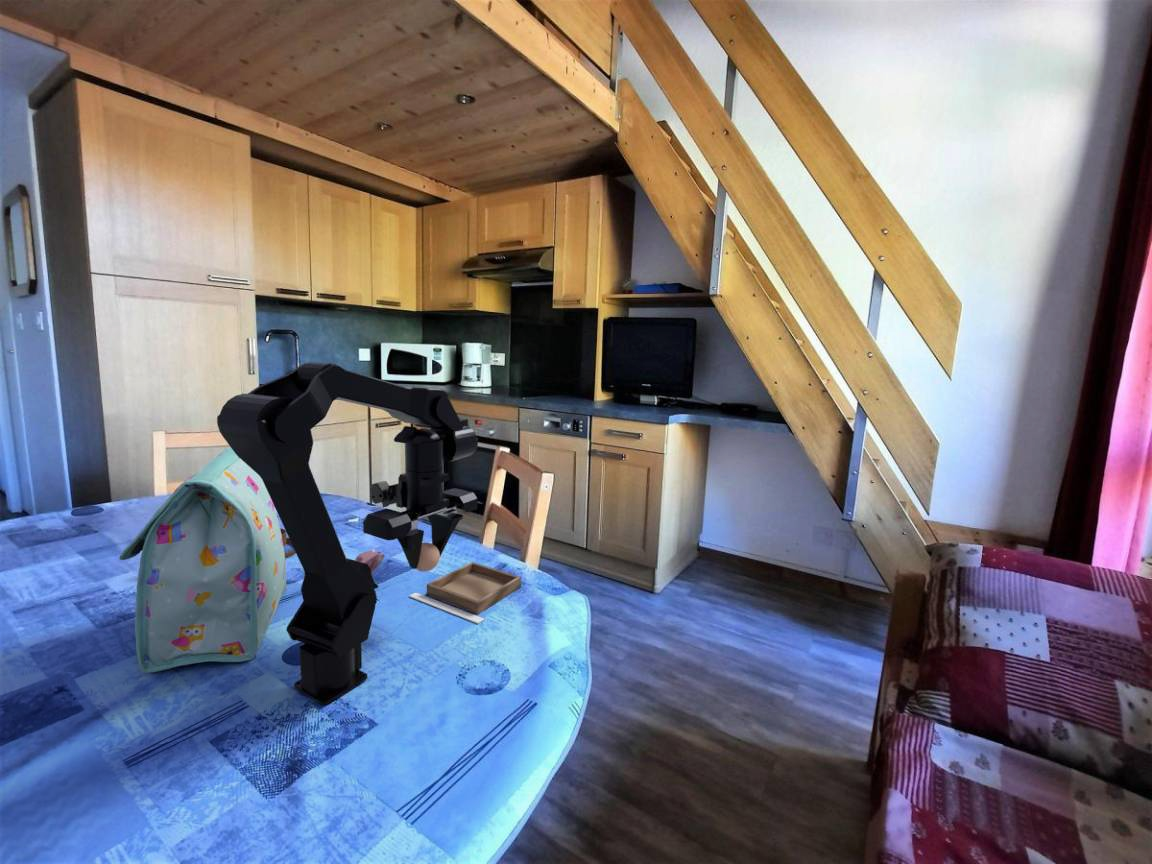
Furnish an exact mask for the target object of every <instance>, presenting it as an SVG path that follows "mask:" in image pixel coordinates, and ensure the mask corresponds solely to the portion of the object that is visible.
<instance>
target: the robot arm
mask: <svg viewBox="0 0 1152 864" xmlns="http://www.w3.org/2000/svg"><path fill="white" fill-rule="evenodd" d="M336 400H338V401H343V402H347V403H352V404H355V405H360V406H365V407H369V408H374V409H378V410H382V411H384V412H385V413H386V412H387V413H388V414H389V415H390V417H392V418H394V419H396V420H398V421H401V422H402V423H405V424H410V425H407V426H406V425H404V426H403V428H402V429H401V431H399V432H398V433H397V434H396V435H395V437H394V438H393V442H395V443H400V444H404V465H405V466H404V467H405V468H404V469H405V470H404V473H399V476H398V483H396V484H395V483H394V484H391V485H390V484H389V483H388V482H387V480H383V481H380V482H374V483H371V485H370V486H371V487H370V496H371V500H372V502H373V503H374V504H375V505H376V504H380V503H381V504H382V508H383V509H379V510H377V511H373V512H371V513H367V515H366V516H365V517H364V519H363V521H362V522H363V523H362V526H363V533H364V534H367V535H370V536H373V537H376V538H378V539H380V540H381V539H382V540H384V541H393V540H397V542H398V543H399V544H400V546H401V549H402V551H403V553H404V556H405V558H406V560H407V563H408V565H409V568H411V569H413V570H417V569H416V568H417V566H418V562H419V558H420V552H421V546H422V543H423V541H424V536H425V535H424V534H425V531H424V530H423V529H419V528H418V527H419V526H418V525H419V524H418V523H419V522H418V521H419V520H422V519H425V518H427V519H428V520H429V523H430V526H431V527H430V528H431V544H433V545H435V546H436V547H437V548H438V550H439V553H440V557H441V556H442V554H443V552H444V550H445V549H446V546H447V544H448V542H449V540H450V538H451V536H452V534H453V532H454V531H455V529H456V527H457V526H458V524H459V523H460V521H461V520H463V518H464V515H463V514H460V513H458V509H457V507H459V506H460V509H461V511H463V512H464V513H466V514H467V513H470V512H473V511H475V510H478V498H477V496H476V494H475V493H474V492H473V491H469V490H466V489H465V490H464V489H460V488H457V487H456V488H455V487H453V488H450V489H446V490H444V489H445V487H444V483H445V482H448V481H450V474H449V473H445V471H444V470H445V469H444V463H450V462H453V461H458V460H460V459H464V458H466V457H467V458H468V457H470V456H472V455H473V454H475V452H476V451H477V449H478V446H479V439H478V437H477V434H476V432H475V431H474V430H473V428H472V427H471V426H470V425H469V419H468V418H462V417H459V416H458V414H457V412H456V410H455V408H454V406H453V404H452V402H451V400H450V398H449V394H448V392H447V391H446V390H445V389H441V388H433V387H421V386H410V385H409V386H408V385H400V384H397V383H393V382H391V381H386V380H383V379H380V378H377V377H373V376H370V375H366V374H363V373H360V372H356V371H353V370H349V369H346V368H343V367H341V366H340V365H338V364H337V363H329V362H315V361H312V362H311V361H308V362H305V363H303V364H301V365H299V366H298V367H296V368H295V369H293V370H292V371H290V372H289V373H287V374H284V375H283V376H280V377H278V378H274V379H272V380H270V381H268V382H265V383H264V384H263V383H262V384H261V385H259V386H257V387H255V388H253V389H252V390H251V391H250V392H248V393H241V394H237V395H234V396H232V397H231V398H230V399H227V401H226V402H225V403H224V404H223V406H222V407H221V410H220V413H219V414H218V415H217V417H216V424H217V427H218V432H219V433H220V434H221V436H222V438H223V439H224V440H225V442H226V443H227V444H228V445H229V447H231V448H232V450H233V451H234V452H235V454H236V455H237V456H238V457H239V458H240V459H241V460H242V461H244V462H245V463H246V464H247V465H248V466H249V467H250V468H251V469H253V470H254V471H255V472H256V473H257V474H258V475H259V476H260V477H261V479H262V480H263V482H264V485H265V487H266V489H267V491H268V493H269V495H270V498H271V500H272V502H273V504H274V506H275V509H276V513H277V516H278V518H279V520H280V521H281V523H282V526H283V527H284V528H283V529H284V530H286V536H287V538H289V539H290V541H291V543H292V547H293V550H295V552H296V556H297V558H298V560H299V563H300V566H301V567H302V569H303V572H304V576H303V579H302V584H301V588H300V592H301V597H302V600H303V601H302V603H301V604H300V606H299V607H298V609H297V610H296V612H295V614H294V615H293V617H292V618H291V620H290V622H289V623H288V625H287V626H286V632H287V633H288V636H289V638H290V640H292V641H294V642H296V641H297V642H299V643H302V645H300V646H299V650H298V651H299V662H300V663H299V666H300V679H299V680H297V681H295V682H294V683H293V688H294V689H295V690H297V691H299V692H300V693H302V694H303V695H305V696H306V697H308V698H309V699H312V700H313V701H314V702H316V703H317V704H319V705H320V706H326V705H327V704H330V703H331V702H334V700H336V699H338V698H339V697H341V696H342V695H344V694H346V693H348V692H349V691H350V690H353V689H354V688H356V686H358V685H360V684H362V683H363V682H365V681H366V680H367V679H368V673H366V672H364V671H362V670H361V669H362V668H363V660H362V658H363V654H362V653H363V652H362V651H363V650H362V644H363V643H364V642H366V641H367V640H368V638H369V636H370V631H371V627H372V623H373V619H374V614H375V610H376V604H377V603H378V602H377V599H378V598H377V597H378V596H377V592H376V590H377V589H378V588H379V585H378V584H377V583H376V582H375V581H374V578H373V573H371V569H370V567H369V565H368V564H366V563H363V562H359V561H355V559H351V558H347V556H346V554H345V551H344V549H343V546H342V544H341V541H340V539H339V536H338V534H337V532H336V529H335V527H334V524H333V522H332V520H331V517H330V515H329V514H330V513H329V512H328V509H327V506H326V504H325V502H324V499H323V497H322V494H321V492H320V489H319V488H318V485H317V482H316V480H315V477H314V475H313V472H312V470H311V466H310V459H311V454H312V451H313V447H314V437H313V434H312V429H313V428H315V427H316V426H317V425H318V424H320V423H321V422H322V421H323V420H324V419H325V418H326V416H327V414H328V412H329V411H330V408H331V406H332V404H333V402H334V401H336ZM411 424H412V425H414V426H411ZM417 427H418V428H417ZM394 504H396V505H395V506H396V508H400V509H402V508H405V510H404V511H398V510H395V509H391V508H387V507H389V506H390V505H394ZM375 589H376V590H375Z"/></svg>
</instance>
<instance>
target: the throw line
mask: <svg viewBox="0 0 1152 864" xmlns="http://www.w3.org/2000/svg"><path fill="white" fill-rule="evenodd" d="M408 597H409V598H411V599H413V600H416V601H418V602H421V603H424V604H426V605H429V606H432V607H435V608H437V609H438V610H439V609H440V610H441V611H445V612H446V613H450V614H452V615H454V616H457V617H459V618H462V619H465V620H468V621H469V622H472V623H474V624H477V625H479V624H481V623H483V622H484V621H485V618H483V617H482V616H478V615H477V614H474V613H471V612H469V611H468V612H467V611H466V610H464V609H460V608H458V607H456V606H455V607H454V606H452V605H451V604H450V605H449V604H448V603H444V602H443V601H442V602H441V601H440V600H439V601H438V599H435V598H432V597H430V596H427V595H423V594H422V593H418V592H414V593H412V594H410V595H409V596H408Z"/></svg>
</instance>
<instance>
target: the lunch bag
mask: <svg viewBox="0 0 1152 864" xmlns="http://www.w3.org/2000/svg"><path fill="white" fill-rule="evenodd" d="M280 528H281V527H280V521H279V516H278V513H277V511H276V508H275V506H274V504H273V502H272V500H271V498H270V495H269V493H268V491H267V489H266V487H265V485H264V482H263V480H262V479H261V477H260V476H259V475H258V474H257V473H256V472H255V471H254V470H253V469H251V468H250V467H249V466H248V465H247V464H246V463H245V462H244V461H242V460H241V459H240V458H239V457H238V456H237V455H236V454H235V452H234V451H233V450H232V448H231V447H230V446H229V447H226V448H225V449H224V450H223V451H222V452H221V453H219V454H218V455H217V456H216V457H215V458H213V459H212V460H211V461H209V462H208V463H207V464H205V466H203V467H202V468H201V469H200V470H198V471H197V472H196V473H195V474H193V475H191V476H190V477H188V478H187V479H186V480H184V481H183V482H182V483H181V484H180V485H178V487H176V489H174V491H173V492H172V493H171V495H170V496H169V497H168V498H167V499H166V500H165V501H164V502H163V503H162V505H160V507H159V508H158V509H157V510H156V511H155V513H154V514H153V515H152V516H151V518H150V519H149V521H148V522H147V523H146V524H145V526H144V527H143V528H142V529H141V530H140V532H139V533H138V534H137V535H136V536H135V538H134V539H132V541H131V542H130V543H129V544H128V545H127V546H126V547H125V549H123V551H122V552H121V553H120V554H119V557H118V558H119V560H121V561H126V560H129V559H132V558H134V557H136V556H138V555H139V554H140V553H141V554H140V559H139V568H138V574H137V583H136V591H135V592H136V594H135V595H136V596H135V615H134V630H135V631H134V633H135V647H136V648H135V650H136V651H135V653H136V658H137V664H138V667H140V669H141V672H142V673H156V672H162V671H165V670H169V669H172V668H177V667H181V666H187V665H188V666H189V665H192V664H199V663H205V662H221V663H240V662H246V661H247V662H248V661H250V660H252V659H254V658H255V656H256V655H257V652H258V651H259V649H260V646H261V644H262V642H263V639H264V637H265V635H266V633H267V630H268V629H269V626H270V624H271V623H272V620H273V618H274V615H275V613H276V612H277V608H278V607H279V603H280V601H281V599H282V597H283V595H284V593H285V592H286V590H287V564H286V563H287V562H286V559H285V546H284V547H283V541H282V535H281V530H280Z"/></svg>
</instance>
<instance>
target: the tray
mask: <svg viewBox="0 0 1152 864" xmlns="http://www.w3.org/2000/svg"><path fill="white" fill-rule="evenodd" d="M521 587H522V577H521V576H518V575H515V574H513V573H512V574H511V573H510V572H509V573H508V572H506V571H503V570H499V569H496V568H493V567H490V566H486V565H483V564H480V563H477V562H475V561H472V562H469V563H467V564H465V565H463V566H461V567H459V568H457V569H455V570H453V571H451V572H449V573H447V574H445V575H443V576H441V577H438V578H436V579H435V580H433V581H430V582H429V583H427V584H426V596H427V597H430V598H433V599H435V600H439V601H440V602H441V601H442V602H443V603H444V602H445V603H446V604H448V605H449V604H450V605H451V606H452V605H453V606H455V607H456V608H459V609H460V608H461V610H464V611H468V612H469V613H472V614H474V615H480V614H481V613H482V612H484V611H486V610H488V609H489V608H491V607H492V606H494V605H495V604H497V603H499V602H500V601H502V600H503V599H505V598H507V597H508V596H509V595H511V594H512V593H514V592H515V591H517V590H519V589H520V588H521ZM501 599H502V600H501Z"/></svg>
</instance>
